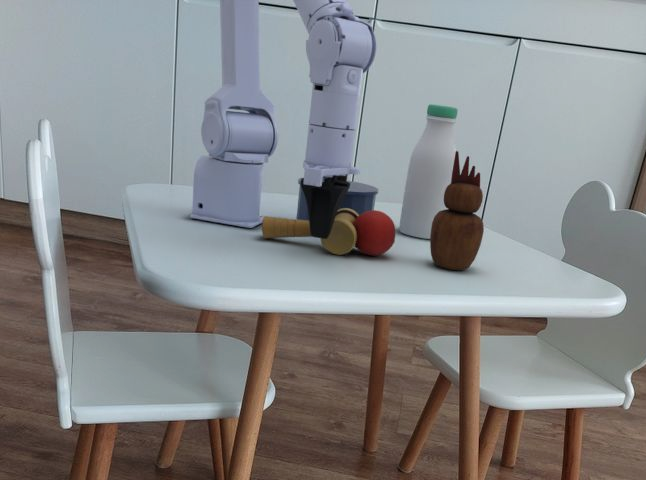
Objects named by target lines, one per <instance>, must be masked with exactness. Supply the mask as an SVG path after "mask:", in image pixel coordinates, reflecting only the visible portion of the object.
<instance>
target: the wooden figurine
mask: <svg viewBox="0 0 646 480" xmlns="http://www.w3.org/2000/svg"><path fill="white" fill-rule="evenodd" d="M469 166H470V156H469V155H467V156H466V158H465V160H464V164H463V167H462V170H461V168H460V167H461V165H460V155H459V151H458V150H456V153H455V159H454V165H453V171H452V178H451V184H449V185H448V186H447V188H446V190H445V193H444V205H445V207H446V208H448V209H446V210H442V211H439V212H438V213H437V214H436V215H435V217H434V219H433V222H432V227H431V235H430V239H429V249H430V256H431V259H432V261H433V264H435V265H436V266H438V267H440V268H442V269H445V270H449V271H450V270H451V271H465V270H467V269H469V268H470V267H471V265H472V264H473V263H474V261H475V260H476V257H477V256H478V253H479V250H480V247H481V245H482V241H483V237H484V231H485V230H484V229H485V228H484V222H483V220H482V218H481V217H480V216H478V214H476V213H477V212H479V210H480V208H481V207H482V203H483V199H484V194H483V190H482V188H481V173H480V172H477V173H476V166H475V165H472V167H471V169H470V167H469ZM469 170H470V171H469Z"/></svg>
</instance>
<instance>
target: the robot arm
mask: <svg viewBox="0 0 646 480" xmlns="http://www.w3.org/2000/svg"><path fill="white" fill-rule="evenodd" d="M292 1H293V3H294V5H295V7H296V9H297V10H296V11H297V12H298V14H299V16H300V18H301V21H302V22H303V25H304V27H305V29H306V32H307V33H308V39H306V40H305V53H306V57H307V60H308V63H309V64H308V65H309V74H308V77H309V78H310V83H311V84H312V87H311V88H312V90H311V99H310V109H309V117H308V118H309V119H308V130H307V137H306V139H307V140H306V141H307V142H306V149H305V159H304V160H303V163H302V168H303V170H304V173H303V177H304V178H303V177H301V178H302V179H301V188H302V190H303V193H304V195H305V198H306V202H307V207H308V214H309V224H310V232H311V237H312V238H318V239H320V238H323V239H327V238H328V237H329V235H330V232H331V229H332V226H333V223H334V220H335V217H336V214H337V211H338V208H339V206H340V203H341V201H342V199H343V197H344V196H345V194H346V192H347V191H348V189H349V188H350V182H346V181H340V180H337V177H338V176H339V175H340V176H346V175H348V176H349V175H354V176H355V175H360V173H361V168H360V167H357V166H352V160H353V159H352V158H353V151H354V143H355V137H356V130H357V120H358V114H359V104H360V97H361V89H362V82H363V74H364V73H366V72H367V71H369V69H370V68H371V66H372V65H373V63H374V61H375V57H376V53H377V38H376V34H375V32H374V27H373V26H372V25H371V24H370V23H369V22H367V21H364V20H361V19H360V18H359V16H355V14H354V10H353V8H352V6H351V4H350V3H349V1H348V0H292ZM259 6H260V5H259V0H219V13H220V15H219V16H220V55H221V57H220V59H221V87H220V88H219V89H218V90H216V91H215V92H213V94H211V95H210V96H208V98H207V99H205V100H204V112H203V119H202V123H201V127H200V128H201V129H200V134H201V141H202V144H203V147H204V148H205V151H207V153H208V155H202V156H200V157H199V158H198V160H197V161H196V164H195V168H194V171H193V186H192V187H193V188H192V206H191V207H192V208H191V209H192V211H191V214H190V215H189V218H190V219H195V220H201V221H206V222H212V223H219V224H224V225H231V226H235V227H241V228H246V229H247V228H248V229H252V228H254V227H256V226H259V225H262V221H263V218H264V217H265V216H264V215H263V216H262V215H260V212H261V198H262V187H263V172H264V163H269V158H271V156H273V154H274V153H275V151H276V149H277V147H278V143H279V129H278V126H277V122H276V118H275V105H274V103H273V102H272V101H271V100H270V99H269V97H267V95H266V94H265V93H264V92H263V91H262V90H261V85H260V84H261V83H260V82H261V79H260V77H261V75H260V10H259ZM230 110H234V111H230ZM235 110H236V111H235ZM242 111H245V112H242Z"/></svg>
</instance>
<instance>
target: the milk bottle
mask: <svg viewBox="0 0 646 480" xmlns="http://www.w3.org/2000/svg"><path fill="white" fill-rule="evenodd" d="M426 109H427V110H426V117H425V118H426V125H425V126H424V127H425V128H424V130H423V131H422V134H421V136H420V138H419V140H418V141H417V142H416V144H415V146H414V148H413V150H412V152H411V155H410V158H409V163H408V169H407V175H406V180H405V186H404V192H403V199H402V204H401V205H402V206H401V210H400V211H401V213H400V219H399V226H398V227H399V228H398V229H399V232H400V233H401V234H404V235H407V236H410V237H414V238H420V239H428V240H430V235H431V227H432V222H433V219H434V217H435V215H436V214H437V213H438V212H439V211H442V210H446V209H448V208H446V207H445V205H444V193H445V190H446V188H447V186H448V185H449V184H451V178H452V171H453V165H454V159H455V153H456V151H457V147H456V141H455V137H454V125H455V124H456V119H457V117H458V108H457V107H453V106H447V105H441V104H431V103H430V104H428V106H427V108H426Z"/></svg>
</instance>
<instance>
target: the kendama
mask: <svg viewBox="0 0 646 480" xmlns="http://www.w3.org/2000/svg"><path fill="white" fill-rule="evenodd" d="M263 217H264V218H263V221H262V223H261V234H262V237H263V238H264V239H277V238H278V239H281V238H282V239H283V238H308V237H310V238H311V237H312V236H311V232H310V224H309V221H308V220H296V219H295V218H285V217H283V218H282V217H275V216H267V215H265V216H263ZM396 231H397V229H396V226H395V223H394V221H393V220H392V218H391V217H390V216H389V215H388V214H387V213H385V212H383V211H381V210H375V209H374V210H371V211H367V212H364V213H362V214H361V215H358V214H357V212H355V211H354V210H352V209H349V208H342V209H339V210H338V211H337V214H336V217H335V220H334V223H333V226H332V229H331V232H330V235H329V237H328V238H327V239H323V238H319V239H320V242H321V245H322V247H323V248H324V249H325V251H327V252H328V253H330V254H333V255H337V256H342V255H346V254H349V253H350V252H351V251H352V250H353V249H354V248H356V249H357V250H358V251H360V252H361V253H362V254H365V255H367V256H373V257H374V256H380V255H383V254H385V253H386V252H388V251H389V250H390V249H391V248H392V247H393V246H394V244H395V239H396V236H397V235H396V234H397V232H396Z"/></svg>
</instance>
